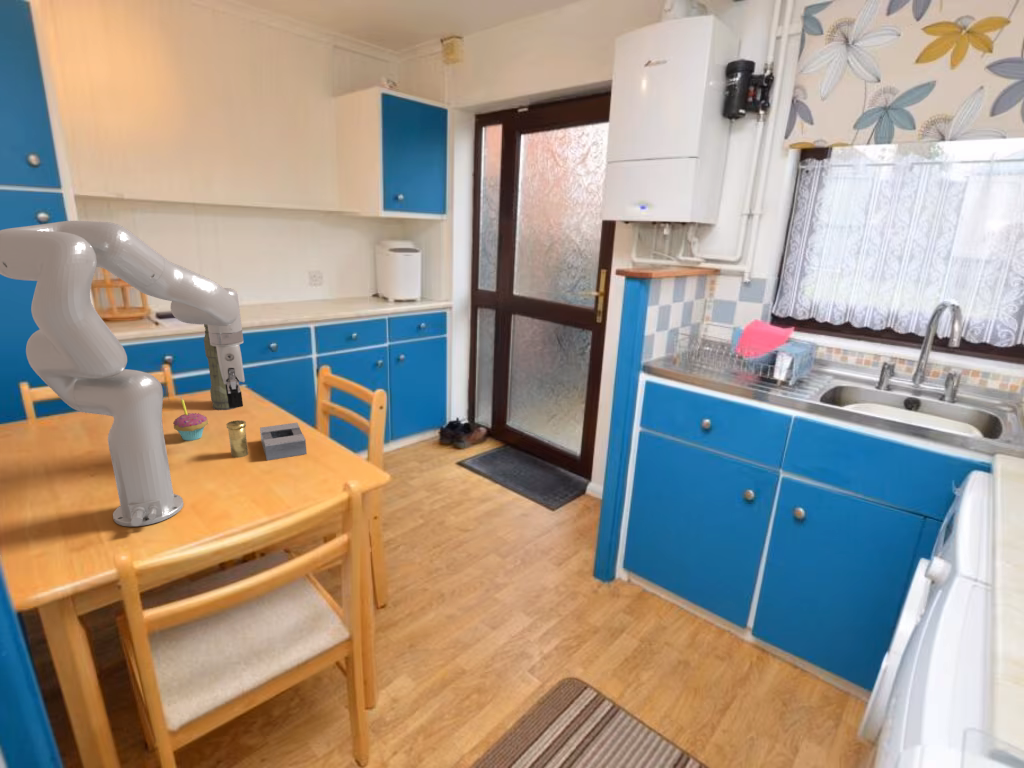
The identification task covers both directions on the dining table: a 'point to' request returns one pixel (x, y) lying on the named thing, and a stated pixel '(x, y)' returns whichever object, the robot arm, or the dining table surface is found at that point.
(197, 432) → the cupcake
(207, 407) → the dining table surface
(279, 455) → the jig
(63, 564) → the dining table surface
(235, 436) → the brass capped cylinder
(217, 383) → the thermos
